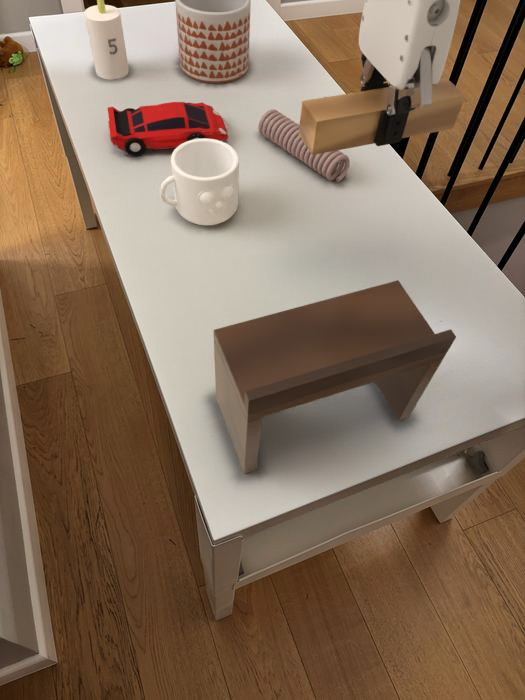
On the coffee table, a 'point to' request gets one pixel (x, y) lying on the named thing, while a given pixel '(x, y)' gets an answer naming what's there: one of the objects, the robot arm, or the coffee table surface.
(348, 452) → the coffee table surface
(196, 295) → the coffee table surface
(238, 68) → the planter
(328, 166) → the coil
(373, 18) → the robot arm
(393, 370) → the shelf
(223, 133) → the toy car
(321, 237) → the coffee table surface
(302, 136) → the stick
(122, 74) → the candle
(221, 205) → the mug
